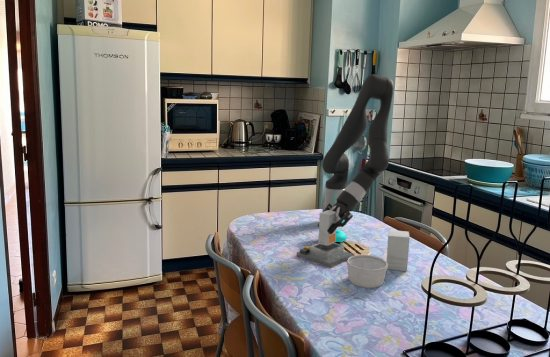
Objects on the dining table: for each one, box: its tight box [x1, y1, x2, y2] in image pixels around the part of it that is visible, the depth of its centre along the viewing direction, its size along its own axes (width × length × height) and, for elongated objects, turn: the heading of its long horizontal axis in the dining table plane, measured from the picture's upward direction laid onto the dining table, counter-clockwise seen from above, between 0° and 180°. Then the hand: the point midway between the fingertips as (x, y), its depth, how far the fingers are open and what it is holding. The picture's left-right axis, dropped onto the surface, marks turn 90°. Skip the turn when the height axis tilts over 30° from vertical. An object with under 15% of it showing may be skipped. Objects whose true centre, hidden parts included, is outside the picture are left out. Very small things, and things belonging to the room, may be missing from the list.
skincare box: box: [318, 210, 337, 246], centre depth 174 cm, size 6×4×12 cm
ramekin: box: [346, 254, 388, 289], centre depth 154 cm, size 13×13×7 cm
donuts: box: [335, 220, 348, 243], centre depth 194 cm, size 10×10×10 cm
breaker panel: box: [296, 243, 354, 269], centre depth 175 cm, size 16×14×4 cm
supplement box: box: [386, 229, 411, 272], centre depth 166 cm, size 7×7×13 cm
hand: (324, 230), depth 173 cm, fingers closed on skincare box, 6 cm apart
